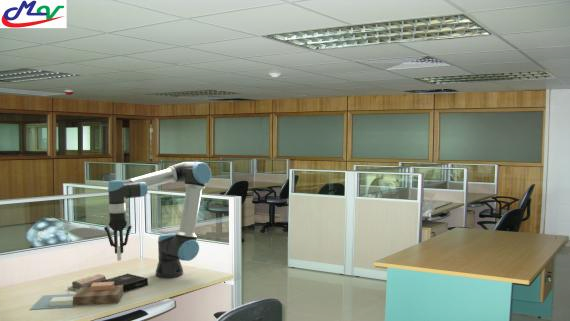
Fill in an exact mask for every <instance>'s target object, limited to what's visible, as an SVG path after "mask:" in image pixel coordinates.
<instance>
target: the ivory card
mask: <svg viewBox="0 0 570 321" xmlns="http://www.w3.org/2000/svg"><path fill="white" fill-rule="evenodd" d="M73 297H74V296H69V297H53V298H52V299H51V300H50V306H63V305H73Z"/></svg>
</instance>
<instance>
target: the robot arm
mask: <svg viewBox="0 0 570 321" xmlns="http://www.w3.org/2000/svg"><path fill="white" fill-rule="evenodd" d="M211 179H212V170H211V168H210V165H208V163H206V162H201V161H184V162H179V163H177V164H173V165H169V166H168V167H167V168H166V169H162V170H158V171H154V172H150V173H147V174H144V175H139V176H136V177H131V178H129V179H124V180H123V179H114V180H113V179H112V180H110V181H108V183H107V185H108V186H107V188H108V189H107V192H108V193H107V194H108V210H109V211H108V212H109V222H108V225H105V227H103V229H104V231H105V233H106V235H107V239H108V242H109V245H110V246H111V247H113V248H114V253H115V254H116V257H117V258H116V259H117V261H122V254H124V247H125V246H127V244H128V241H129V235H130V233H131V232H130V231H131V229H132V227H133V226H132V224H129V223H128V220H127V214H126V213H127V212H126V208H127V207H126V199H134V198H136V199H137V198H142V197H145V196H147V194H148V191H149V190H148V189H150V188H151V189H152V188H154V187H158V186H161V185H164V184H168V183H172V184H174V183H179V182H180V183H182V182H184V186H185V195H184V201H183V205H182V210H181V211H182V213H181V216H180V217H181V218H180V222H179V229H178V231H177V232H172V233H171V232H170V233H164V234H160V235H159V236H158V240H157V245H158V248H157V249H158V263H157V266H156V269H155V276H156V277H158V278H164V279H167V278H169V279H170V278H176V277H180V276H183V274H184V268H183V265H182V262H181V261H183V262H185V261H186V262H189V261H192V260H193V259H194V258H196V257H197V256H198V254H199V251H200V245H199V242H198V241H197V238H198V236H197V235H196V233H195V232H196V227H197V222H198V217H199V216H198V214H199V209H200V205H201V204H200V203H201V197H202V192H203V190H204V189H206V184H208V183H209V182H210V181H211ZM125 228H126V231H125V236H124V229H125ZM111 230H112V232H113V236H112V233H111ZM118 233H119V235H118ZM118 236H119V237H118ZM124 237H125V238H124ZM118 238H119V240H118ZM118 243H119V244H118Z"/></svg>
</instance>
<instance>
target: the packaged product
mask: <svg viewBox="0 0 570 321" xmlns="http://www.w3.org/2000/svg"><path fill="white" fill-rule="evenodd" d="M103 280H107V277H106V276H105V275H104V274H94V275H92V276H88V277H84V278H80V279H77V280H73V281H72V283H71V285H70V286H68V287H67V290H69V291H72V292H76V293H77V291H78V290H79V289H80V288H82V287H90V286H91V285H92V284H93V283H97V282H101V281H103Z"/></svg>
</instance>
